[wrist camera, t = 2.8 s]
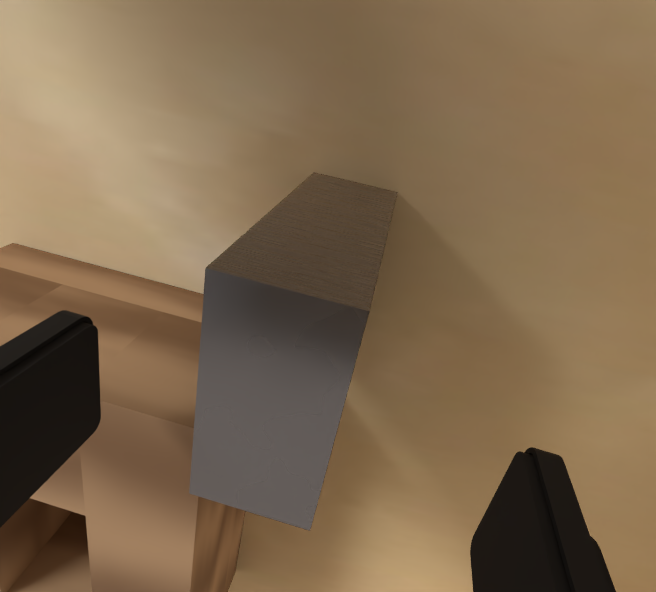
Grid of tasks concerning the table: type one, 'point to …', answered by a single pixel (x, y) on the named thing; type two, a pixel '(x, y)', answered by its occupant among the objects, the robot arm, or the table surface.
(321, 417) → the grey rectangular block
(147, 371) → the tan slotted block
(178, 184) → the table surface
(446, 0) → the table surface
